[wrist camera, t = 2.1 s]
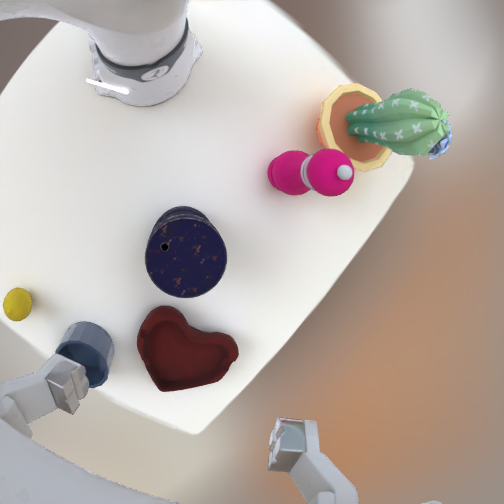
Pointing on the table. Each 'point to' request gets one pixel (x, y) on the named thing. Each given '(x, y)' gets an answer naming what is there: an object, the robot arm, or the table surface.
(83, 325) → the cup
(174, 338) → the ashtray
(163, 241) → the dark blue barrel
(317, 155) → the pepper mill
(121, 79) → the robot arm
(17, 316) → the lemon
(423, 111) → the potted cactus
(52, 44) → the table surface
